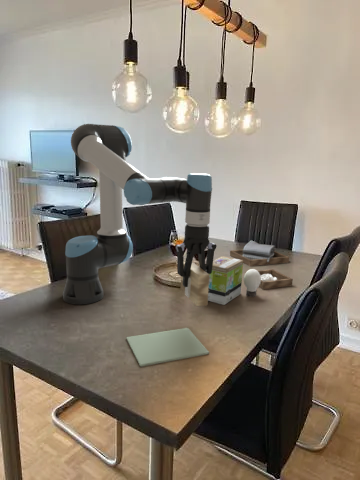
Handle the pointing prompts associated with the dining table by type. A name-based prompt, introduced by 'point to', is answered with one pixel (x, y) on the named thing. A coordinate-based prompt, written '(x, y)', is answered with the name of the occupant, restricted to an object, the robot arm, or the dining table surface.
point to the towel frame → (278, 259)
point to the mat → (165, 346)
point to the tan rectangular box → (198, 285)
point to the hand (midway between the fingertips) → (193, 295)
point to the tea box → (225, 280)
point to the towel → (258, 251)
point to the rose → (267, 277)
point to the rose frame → (280, 282)
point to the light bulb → (252, 282)
